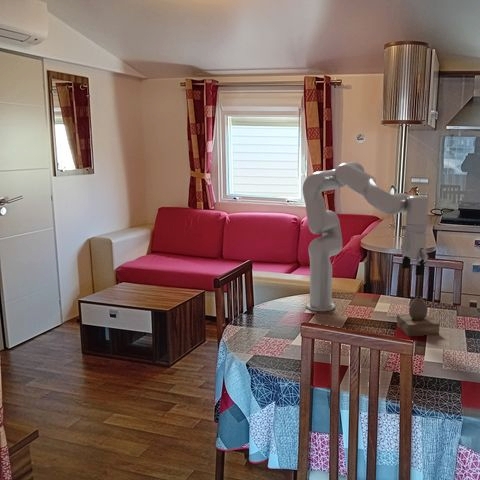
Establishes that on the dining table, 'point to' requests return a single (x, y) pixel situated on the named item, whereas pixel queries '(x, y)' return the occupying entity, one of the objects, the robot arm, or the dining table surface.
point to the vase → (418, 309)
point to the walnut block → (417, 325)
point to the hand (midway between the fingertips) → (412, 271)
